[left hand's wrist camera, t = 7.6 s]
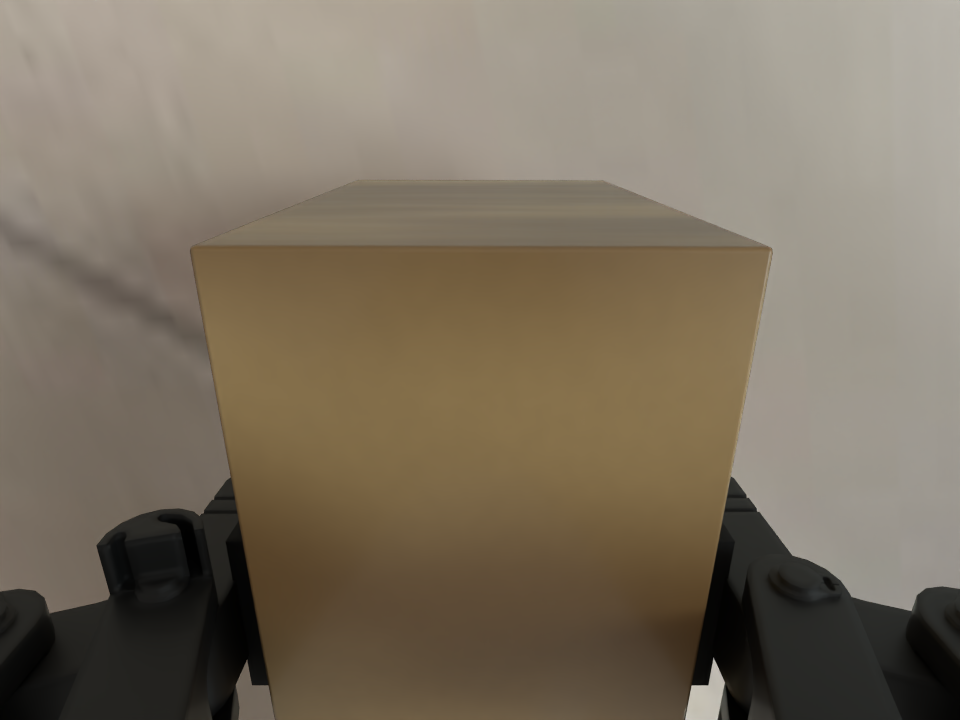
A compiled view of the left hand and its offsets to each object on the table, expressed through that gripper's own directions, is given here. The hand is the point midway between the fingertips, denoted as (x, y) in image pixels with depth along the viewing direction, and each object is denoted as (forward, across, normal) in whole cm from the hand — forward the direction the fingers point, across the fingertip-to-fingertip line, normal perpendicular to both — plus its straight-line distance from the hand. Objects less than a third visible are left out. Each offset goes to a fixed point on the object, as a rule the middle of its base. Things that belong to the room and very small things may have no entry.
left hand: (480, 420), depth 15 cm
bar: (+1, 0, -25) cm, 25 cm away
